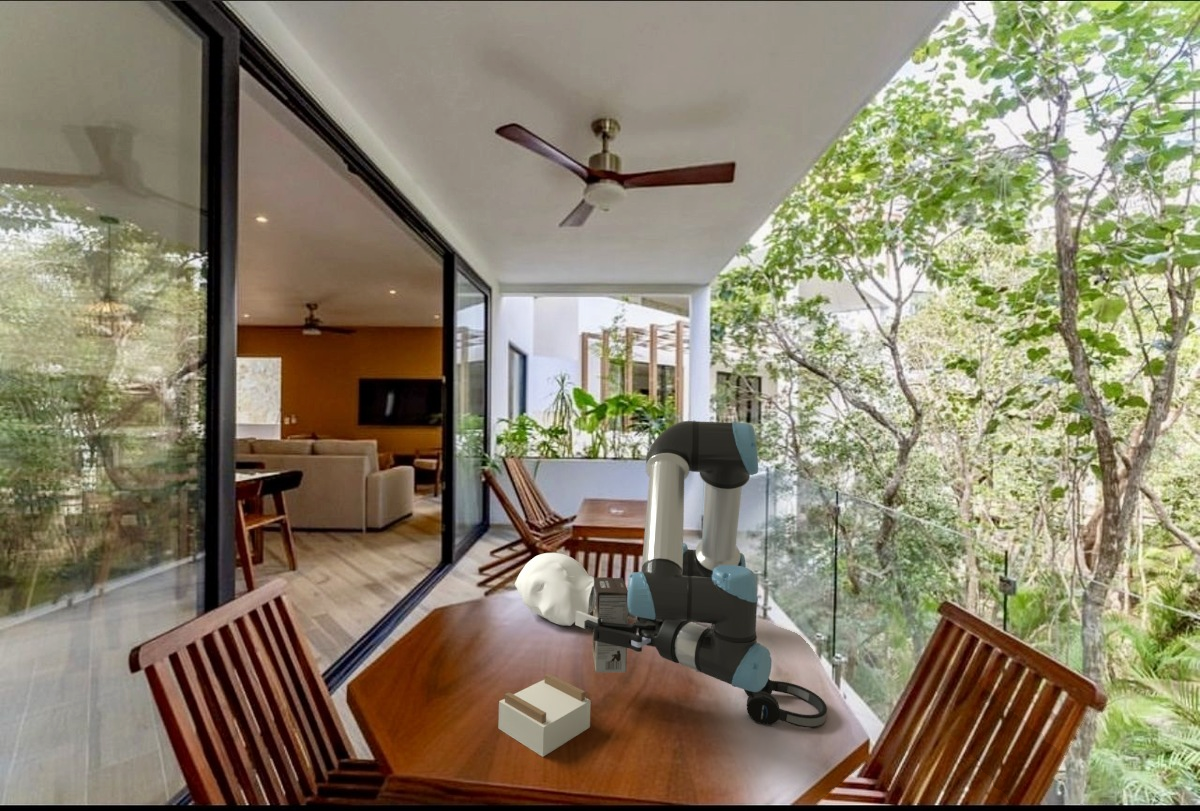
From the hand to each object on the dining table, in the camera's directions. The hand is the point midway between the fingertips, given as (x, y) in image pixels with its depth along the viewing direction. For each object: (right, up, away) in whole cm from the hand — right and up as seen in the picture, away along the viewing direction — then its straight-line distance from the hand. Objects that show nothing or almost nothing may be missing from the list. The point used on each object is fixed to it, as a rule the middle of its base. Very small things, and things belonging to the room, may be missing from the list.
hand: (594, 610), depth 114 cm
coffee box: (+3, -10, -3) cm, 11 cm away
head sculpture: (-11, -18, +41) cm, 46 cm away
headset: (+37, -19, -5) cm, 42 cm away
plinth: (-9, -17, -13) cm, 23 cm away
